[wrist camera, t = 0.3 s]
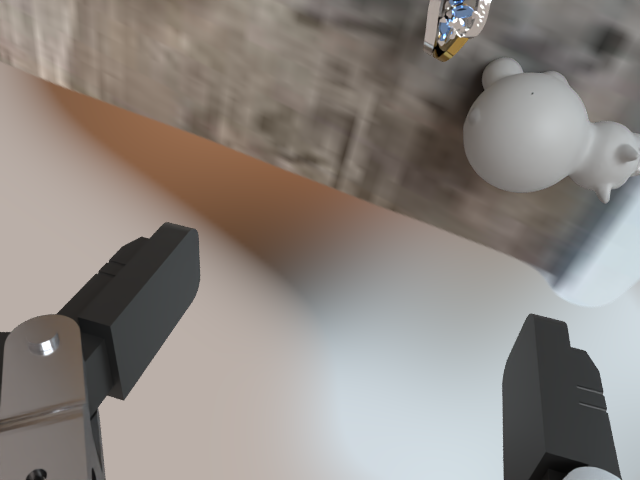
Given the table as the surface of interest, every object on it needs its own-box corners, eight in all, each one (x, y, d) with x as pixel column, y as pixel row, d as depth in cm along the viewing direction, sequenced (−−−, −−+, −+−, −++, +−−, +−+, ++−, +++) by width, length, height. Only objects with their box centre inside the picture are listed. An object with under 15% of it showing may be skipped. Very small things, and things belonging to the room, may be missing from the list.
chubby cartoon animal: (609, 189, 39) (634, 257, 32) (449, 135, 39) (440, 189, 33) (672, 96, 34) (716, 152, 27) (491, 37, 35) (491, 77, 28)
